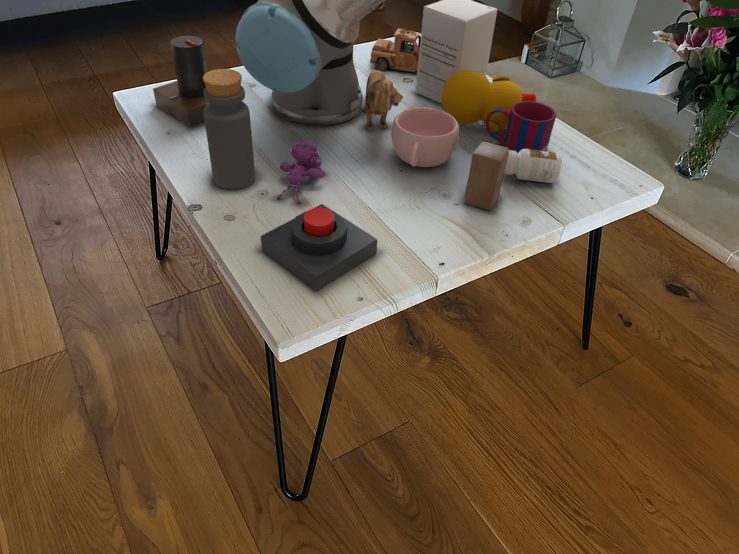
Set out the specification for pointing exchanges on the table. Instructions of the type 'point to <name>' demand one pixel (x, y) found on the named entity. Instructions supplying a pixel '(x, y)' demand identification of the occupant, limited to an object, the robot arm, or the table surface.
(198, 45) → the dial
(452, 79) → the toy
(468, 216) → the table surface
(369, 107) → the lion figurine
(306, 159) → the purple lumpy piece
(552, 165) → the pill bottle
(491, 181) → the wooden block
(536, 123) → the cup
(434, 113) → the mug
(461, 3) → the white product box
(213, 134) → the bottle
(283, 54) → the robot arm
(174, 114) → the dial panel
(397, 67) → the toy car
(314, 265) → the switch base
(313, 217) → the switch
